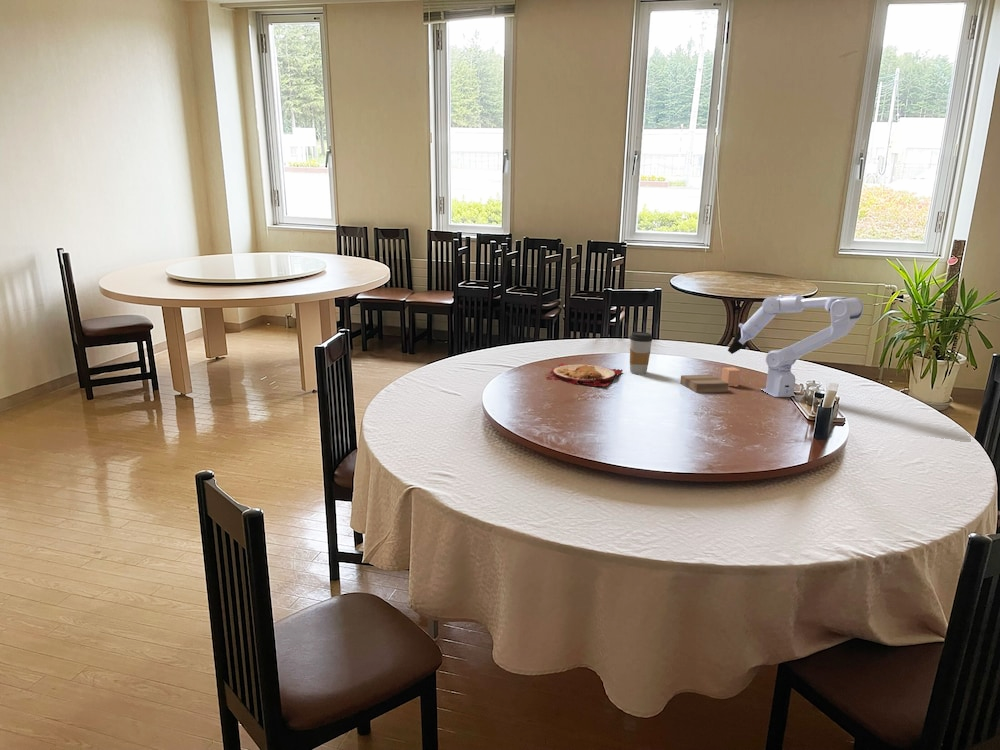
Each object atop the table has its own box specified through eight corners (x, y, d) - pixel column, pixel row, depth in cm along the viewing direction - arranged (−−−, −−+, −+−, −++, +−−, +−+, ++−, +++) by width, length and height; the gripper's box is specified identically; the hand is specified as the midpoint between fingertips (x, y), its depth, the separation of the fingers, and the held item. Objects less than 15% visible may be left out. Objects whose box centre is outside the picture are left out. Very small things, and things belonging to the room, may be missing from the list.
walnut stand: (727, 391, 247) (728, 383, 246) (696, 392, 244) (697, 384, 243) (710, 382, 258) (711, 374, 257) (680, 383, 255) (681, 375, 254)
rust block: (738, 386, 255) (740, 370, 253) (727, 386, 254) (729, 370, 252) (732, 383, 259) (734, 367, 258) (720, 383, 258) (722, 367, 257)
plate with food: (622, 374, 268) (623, 365, 267) (605, 389, 244) (606, 379, 243) (560, 367, 277) (561, 358, 276) (538, 380, 253) (538, 371, 252)
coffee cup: (651, 375, 265) (654, 336, 262) (628, 374, 265) (632, 335, 262) (647, 370, 273) (650, 332, 270) (625, 369, 273) (628, 331, 270)
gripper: (752, 307, 256) (728, 331, 265) (743, 324, 245) (718, 349, 254) (768, 319, 255) (744, 343, 264) (759, 336, 244) (734, 361, 254)
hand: (732, 347), depth 259 cm, fingers open, 7 cm apart
